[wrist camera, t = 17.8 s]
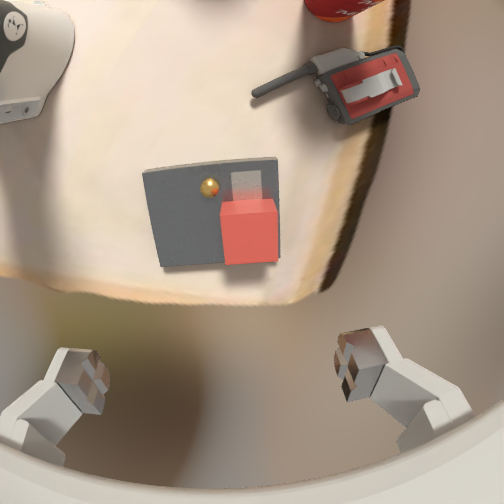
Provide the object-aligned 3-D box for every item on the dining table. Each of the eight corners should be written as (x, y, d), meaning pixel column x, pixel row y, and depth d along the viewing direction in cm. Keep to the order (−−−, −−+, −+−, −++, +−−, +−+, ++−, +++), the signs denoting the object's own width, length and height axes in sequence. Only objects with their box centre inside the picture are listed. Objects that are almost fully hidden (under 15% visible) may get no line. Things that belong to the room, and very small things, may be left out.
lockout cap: (226, 246, 34) (225, 264, 30) (222, 201, 31) (220, 215, 28) (273, 243, 34) (278, 261, 31) (272, 198, 32) (277, 211, 28)
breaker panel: (163, 259, 37) (159, 270, 34) (147, 169, 31) (139, 174, 29) (278, 250, 37) (281, 261, 34) (275, 156, 31) (278, 160, 29)
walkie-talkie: (388, 33, 24) (246, 88, 28) (405, 27, 20) (248, 84, 24) (416, 94, 28) (283, 153, 32) (436, 94, 24) (290, 159, 28)
